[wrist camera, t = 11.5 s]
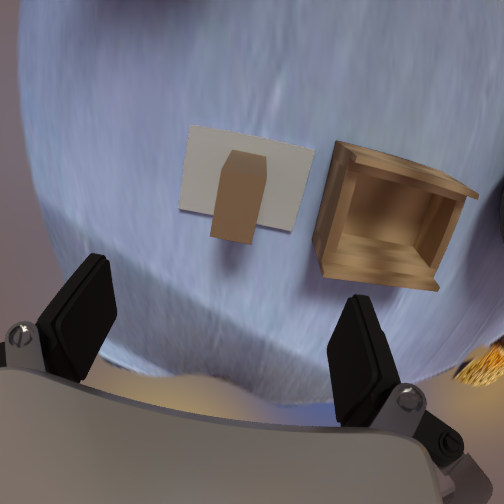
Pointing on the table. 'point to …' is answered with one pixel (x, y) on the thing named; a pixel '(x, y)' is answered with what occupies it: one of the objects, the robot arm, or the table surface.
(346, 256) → the box
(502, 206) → the bowl
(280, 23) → the table surface
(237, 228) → the lid
